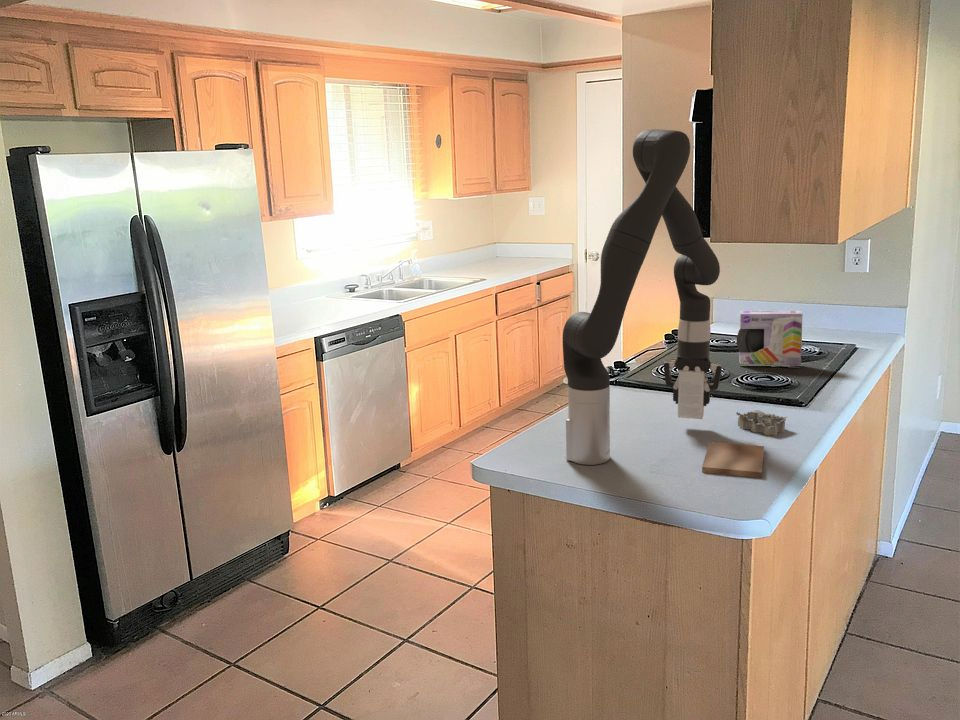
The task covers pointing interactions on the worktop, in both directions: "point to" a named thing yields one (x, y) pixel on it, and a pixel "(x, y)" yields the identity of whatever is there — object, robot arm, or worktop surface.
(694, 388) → the skincare box
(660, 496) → the worktop surface
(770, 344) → the cake pan box
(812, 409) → the worktop surface
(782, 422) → the egg carton
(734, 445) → the wooden board
